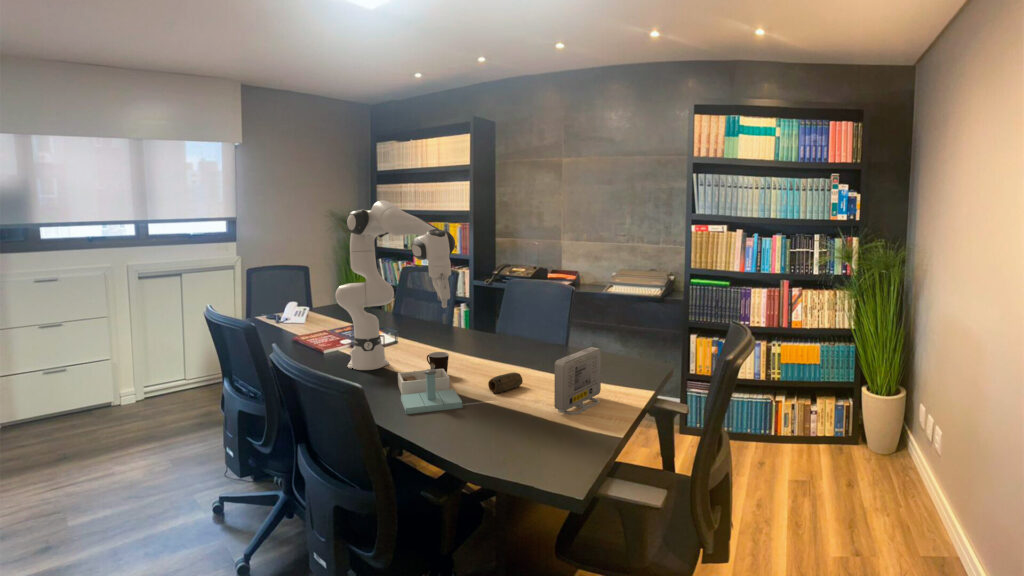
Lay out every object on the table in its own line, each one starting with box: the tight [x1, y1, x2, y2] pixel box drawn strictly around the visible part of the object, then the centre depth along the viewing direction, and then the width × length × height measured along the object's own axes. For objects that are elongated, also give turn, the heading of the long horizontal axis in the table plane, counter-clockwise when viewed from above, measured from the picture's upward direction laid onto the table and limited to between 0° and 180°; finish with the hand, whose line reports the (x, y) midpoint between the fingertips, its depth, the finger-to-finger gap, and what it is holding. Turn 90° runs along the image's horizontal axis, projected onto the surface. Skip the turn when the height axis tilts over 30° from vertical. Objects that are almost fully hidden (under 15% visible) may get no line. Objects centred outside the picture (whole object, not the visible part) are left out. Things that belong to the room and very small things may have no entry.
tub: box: [397, 369, 451, 395], centre depth 248 cm, size 13×19×6 cm
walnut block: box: [404, 376, 417, 381], centre depth 249 cm, size 4×4×4 cm
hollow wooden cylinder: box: [487, 372, 524, 394], centre depth 247 cm, size 15×7×7 cm, turn 139°
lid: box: [400, 368, 464, 415], centre depth 230 cm, size 15×21×13 cm
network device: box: [553, 346, 602, 416], centre depth 227 cm, size 26×9×20 cm, turn 141°
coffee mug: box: [426, 351, 450, 374], centre depth 265 cm, size 12×9×10 cm
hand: (442, 303), depth 245 cm, fingers open, 8 cm apart
